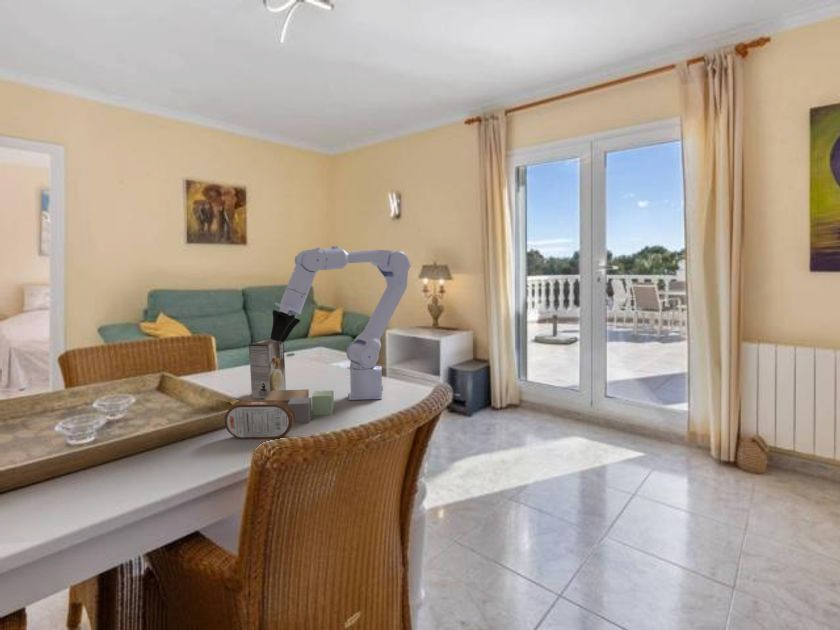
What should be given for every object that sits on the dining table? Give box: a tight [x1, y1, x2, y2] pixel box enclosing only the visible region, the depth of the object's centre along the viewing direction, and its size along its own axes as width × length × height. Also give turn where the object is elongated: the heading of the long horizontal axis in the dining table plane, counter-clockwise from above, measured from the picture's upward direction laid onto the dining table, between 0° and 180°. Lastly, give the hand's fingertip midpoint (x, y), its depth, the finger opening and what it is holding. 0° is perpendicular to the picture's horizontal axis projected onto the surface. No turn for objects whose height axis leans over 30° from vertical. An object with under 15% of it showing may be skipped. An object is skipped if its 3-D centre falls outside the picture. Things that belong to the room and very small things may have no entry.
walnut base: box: [264, 388, 310, 404], centre depth 124 cm, size 10×10×4 cm
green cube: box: [311, 390, 335, 416], centre depth 121 cm, size 5×5×5 cm
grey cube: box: [288, 397, 313, 424], centre depth 114 cm, size 5×5×5 cm
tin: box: [224, 399, 295, 440], centre depth 102 cm, size 15×3×8 cm, turn 92°
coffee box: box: [248, 338, 287, 400], centre depth 136 cm, size 9×6×16 cm
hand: (277, 340), depth 120 cm, fingers open, 7 cm apart
